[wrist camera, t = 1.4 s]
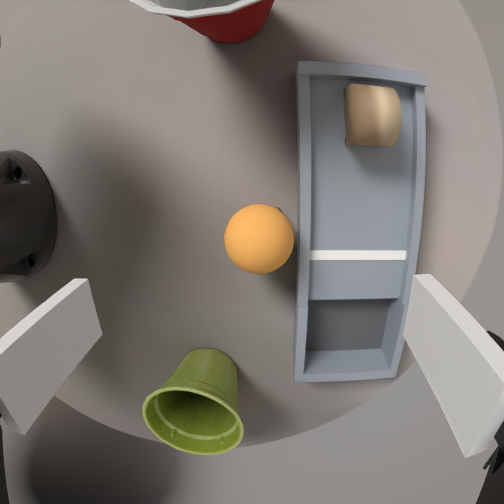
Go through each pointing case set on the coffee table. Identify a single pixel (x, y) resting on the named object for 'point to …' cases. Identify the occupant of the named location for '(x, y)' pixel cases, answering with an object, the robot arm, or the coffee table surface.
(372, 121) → the block
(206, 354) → the plant pot
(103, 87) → the coffee table surface
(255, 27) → the plastic cup
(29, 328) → the robot arm
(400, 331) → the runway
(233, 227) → the ball
